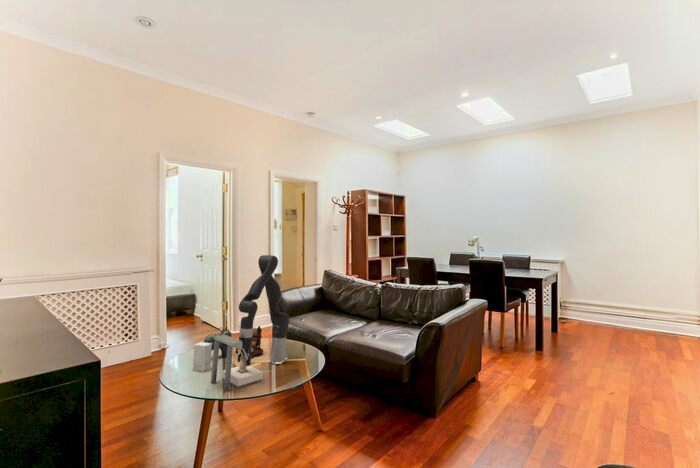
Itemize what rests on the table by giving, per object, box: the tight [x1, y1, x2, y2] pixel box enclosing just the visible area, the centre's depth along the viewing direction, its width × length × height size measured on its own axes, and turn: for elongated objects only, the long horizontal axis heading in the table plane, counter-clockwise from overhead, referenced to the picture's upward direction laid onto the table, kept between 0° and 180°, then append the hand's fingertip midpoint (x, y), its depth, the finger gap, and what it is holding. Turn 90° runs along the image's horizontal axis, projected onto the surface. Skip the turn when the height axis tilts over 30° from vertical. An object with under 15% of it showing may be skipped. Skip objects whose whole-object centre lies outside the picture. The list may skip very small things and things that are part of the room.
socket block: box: [221, 365, 264, 389], centre depth 198 cm, size 16×16×5 cm
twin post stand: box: [210, 335, 242, 392], centre depth 189 cm, size 7×17×25 cm, turn 52°
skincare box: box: [192, 341, 213, 373], centre depth 209 cm, size 8×7×16 cm
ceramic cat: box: [203, 327, 233, 358], centre depth 230 cm, size 20×6×20 cm, turn 139°
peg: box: [239, 355, 247, 374], centre depth 198 cm, size 4×4×12 cm
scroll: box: [242, 325, 264, 357], centre depth 245 cm, size 15×15×20 cm
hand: (243, 363), depth 198 cm, fingers open, 8 cm apart
